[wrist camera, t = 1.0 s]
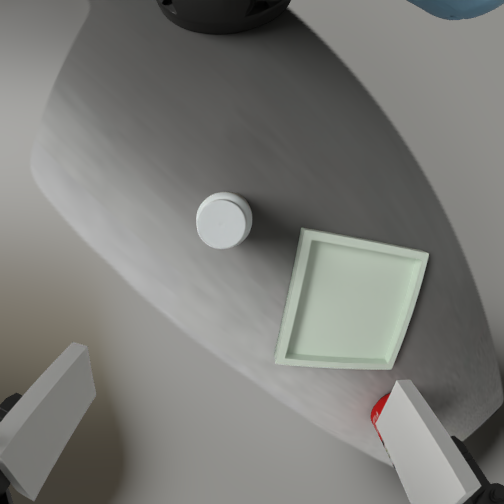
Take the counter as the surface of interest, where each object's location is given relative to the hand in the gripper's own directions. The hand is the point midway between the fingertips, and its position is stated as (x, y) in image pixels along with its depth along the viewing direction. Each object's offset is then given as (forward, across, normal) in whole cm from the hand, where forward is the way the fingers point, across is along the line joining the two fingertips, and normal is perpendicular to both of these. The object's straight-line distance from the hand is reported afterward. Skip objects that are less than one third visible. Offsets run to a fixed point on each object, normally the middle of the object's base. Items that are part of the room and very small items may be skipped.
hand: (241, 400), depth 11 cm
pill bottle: (+19, -2, +5) cm, 20 cm away
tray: (+19, +11, -2) cm, 22 cm away
